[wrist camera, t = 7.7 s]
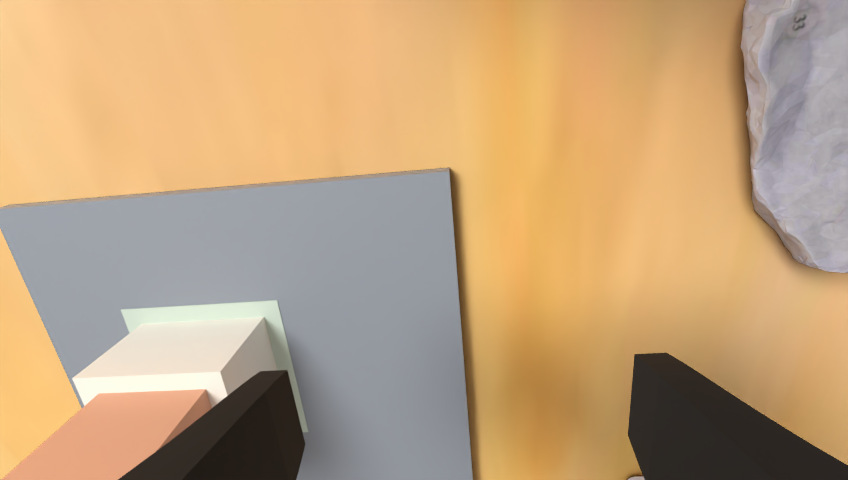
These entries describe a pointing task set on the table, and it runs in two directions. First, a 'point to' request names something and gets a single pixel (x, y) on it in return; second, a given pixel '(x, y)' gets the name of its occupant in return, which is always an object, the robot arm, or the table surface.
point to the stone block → (799, 124)
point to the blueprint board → (281, 300)
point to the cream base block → (181, 359)
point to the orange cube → (113, 435)
